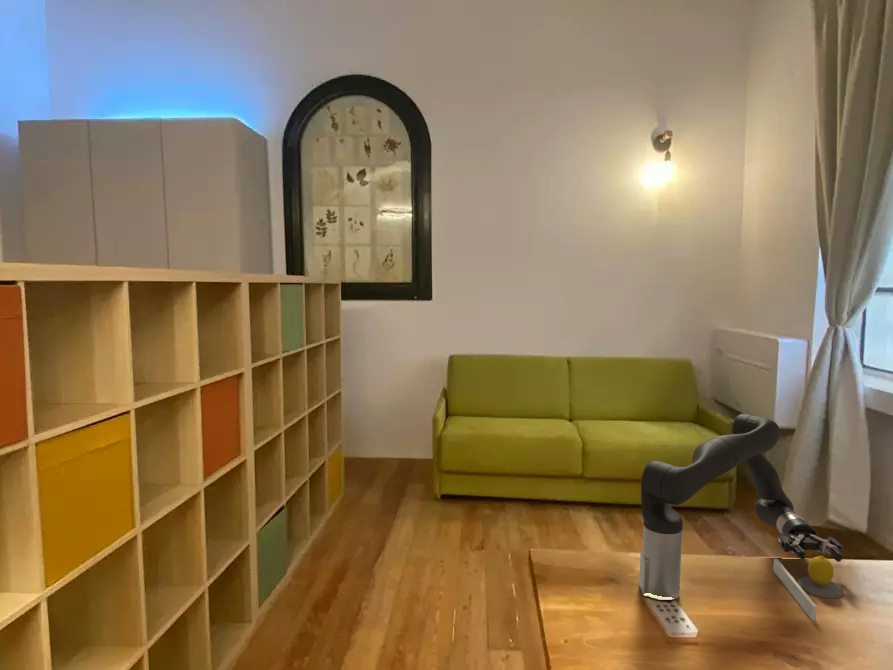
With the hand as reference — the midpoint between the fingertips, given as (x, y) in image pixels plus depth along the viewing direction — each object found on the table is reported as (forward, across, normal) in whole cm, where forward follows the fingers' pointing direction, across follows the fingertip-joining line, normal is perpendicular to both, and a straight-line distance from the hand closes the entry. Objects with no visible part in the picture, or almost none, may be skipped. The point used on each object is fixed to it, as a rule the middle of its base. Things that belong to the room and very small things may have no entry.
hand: (821, 557), depth 159 cm
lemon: (0, 0, +8) cm, 8 cm away
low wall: (+5, -8, +8) cm, 12 cm away
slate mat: (0, 0, +8) cm, 8 cm away
